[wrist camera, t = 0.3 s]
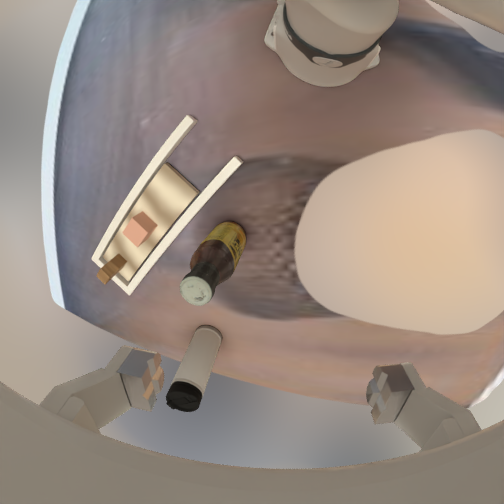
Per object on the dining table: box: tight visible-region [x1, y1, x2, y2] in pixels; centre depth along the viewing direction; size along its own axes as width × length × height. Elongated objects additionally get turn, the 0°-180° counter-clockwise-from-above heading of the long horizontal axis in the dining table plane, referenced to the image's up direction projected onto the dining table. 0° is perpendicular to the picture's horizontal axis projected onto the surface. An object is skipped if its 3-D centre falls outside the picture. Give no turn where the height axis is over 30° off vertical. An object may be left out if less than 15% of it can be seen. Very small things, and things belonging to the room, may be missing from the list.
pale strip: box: [97, 162, 199, 284], centre depth 47 cm, size 26×8×8 cm, turn 137°
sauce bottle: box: [180, 222, 246, 306], centre depth 40 cm, size 6×6×20 cm
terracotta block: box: [122, 211, 158, 248], centre depth 47 cm, size 4×4×4 cm
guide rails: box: [92, 115, 243, 295], centre depth 49 cm, size 38×12×2 cm, turn 137°
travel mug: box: [166, 325, 222, 412], centre depth 51 cm, size 6×7×20 cm
